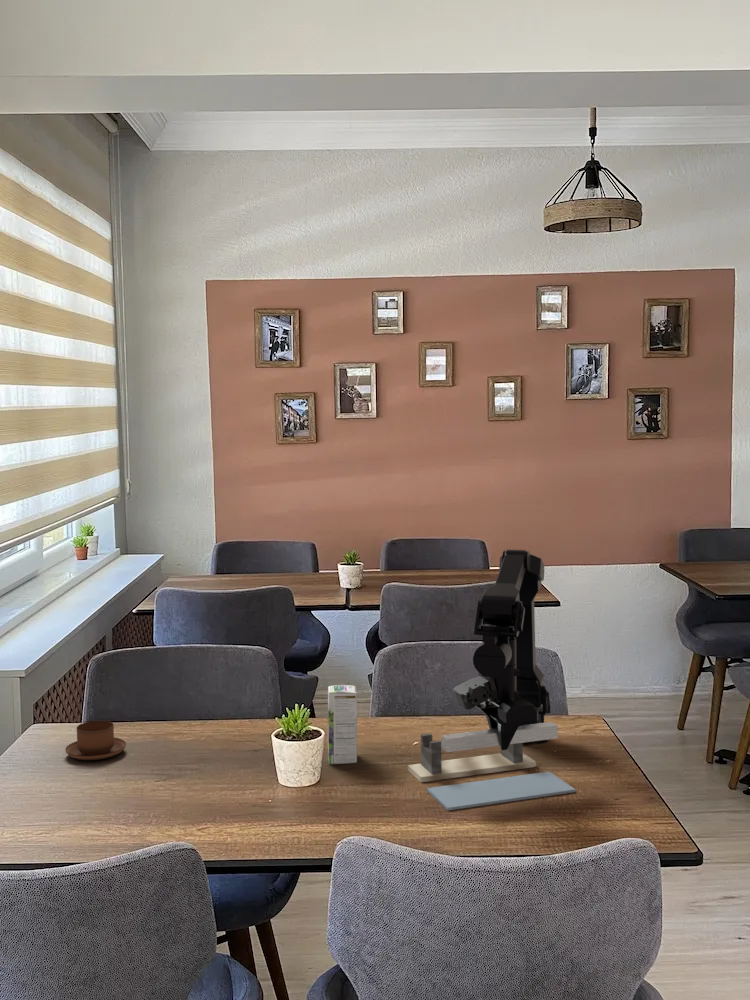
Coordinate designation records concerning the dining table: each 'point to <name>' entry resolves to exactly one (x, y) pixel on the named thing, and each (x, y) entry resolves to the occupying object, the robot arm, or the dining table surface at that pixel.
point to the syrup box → (342, 724)
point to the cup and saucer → (95, 741)
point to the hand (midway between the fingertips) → (500, 747)
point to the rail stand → (465, 762)
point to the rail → (492, 737)
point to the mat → (499, 790)
